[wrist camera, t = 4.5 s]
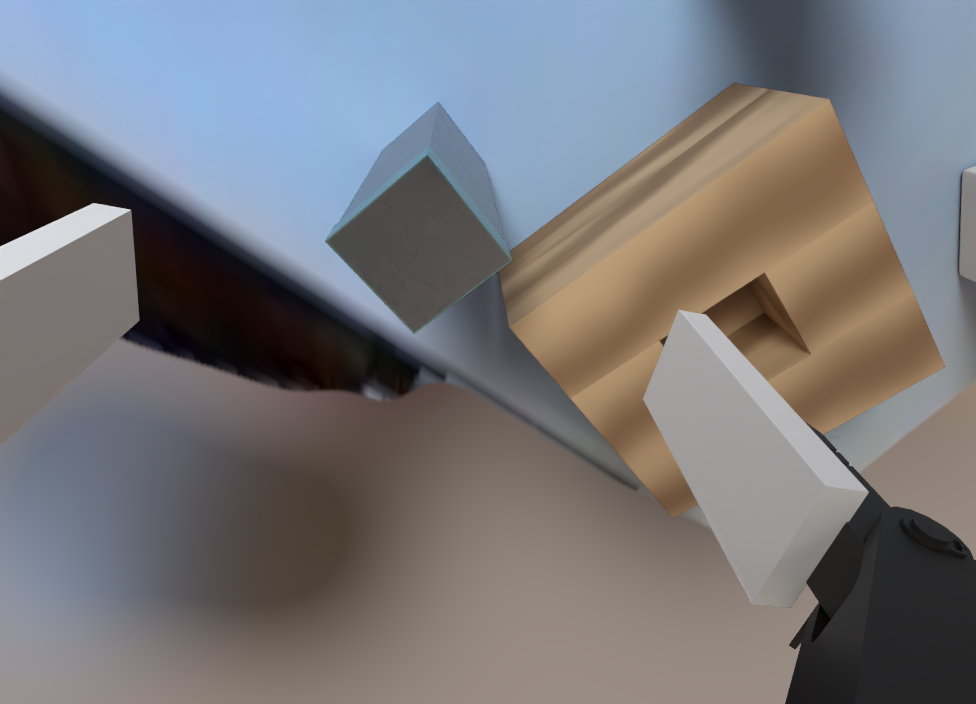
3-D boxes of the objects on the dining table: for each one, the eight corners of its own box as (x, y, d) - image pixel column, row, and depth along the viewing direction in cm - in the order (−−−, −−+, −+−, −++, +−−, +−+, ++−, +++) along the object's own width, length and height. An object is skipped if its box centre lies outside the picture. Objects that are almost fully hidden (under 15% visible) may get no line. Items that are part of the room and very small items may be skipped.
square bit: (381, 150, 32) (325, 241, 18) (438, 100, 31) (427, 154, 17) (429, 208, 33) (414, 334, 19) (486, 162, 32) (512, 260, 18)
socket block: (496, 261, 35) (509, 327, 27) (733, 83, 31) (829, 99, 23) (631, 426, 42) (672, 518, 34) (841, 297, 38) (945, 366, 30)
